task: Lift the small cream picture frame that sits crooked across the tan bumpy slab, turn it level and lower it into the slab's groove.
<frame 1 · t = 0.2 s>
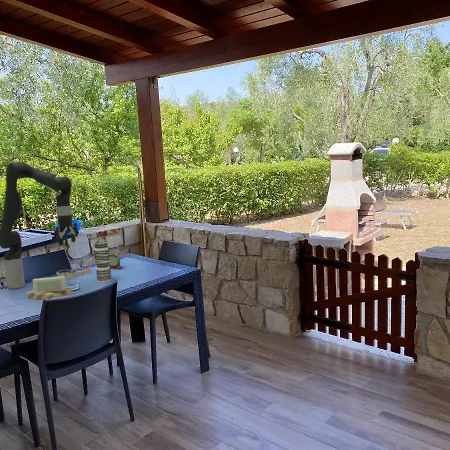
hand: (67, 243, 246), 28 cm above the table, tool pointing down, fingers open, 8 cm apart
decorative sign: (70, 275, 291), on the table
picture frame: (50, 290, 247), point 3 cm above the table, touching tan bumpy slab
tan bumpy slab: (50, 295, 248), on the table
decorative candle: (104, 280, 273), on the table
food container: (116, 268, 303), on the table
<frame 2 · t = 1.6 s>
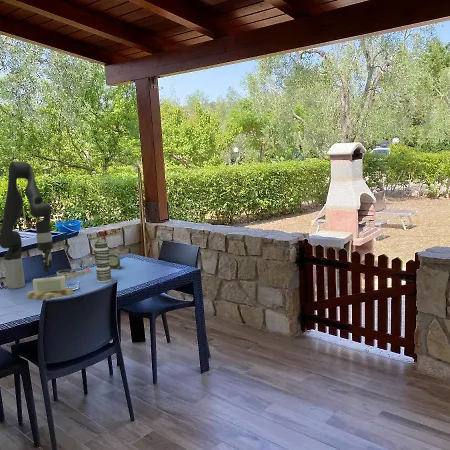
hand: (48, 269, 246), 15 cm above the table, tool pointing down, fingers open, 8 cm apart
nothing on the table moved.
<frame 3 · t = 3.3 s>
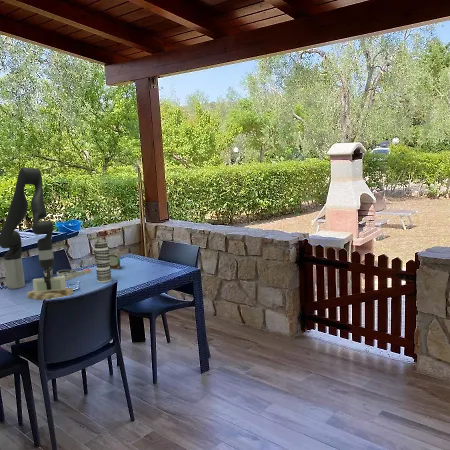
hand: (49, 288, 247), 4 cm above the table, tool pointing down, fingers closed on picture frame, 3 cm apart
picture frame: (50, 290, 247), point 3 cm above the table, touching gripper, tan bumpy slab
everything else where it was.
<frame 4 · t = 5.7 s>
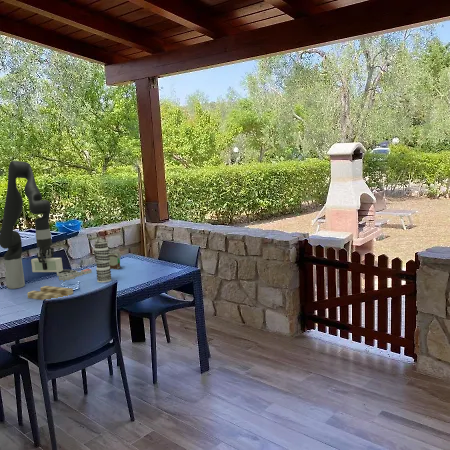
hand: (47, 268, 245), 16 cm above the table, tool pointing down, fingers closed on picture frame, 3 cm apart
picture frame: (47, 271, 245), point 14 cm above the table, touching gripper
everything else where it was.
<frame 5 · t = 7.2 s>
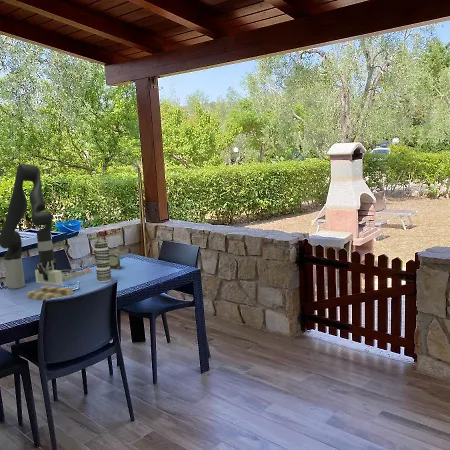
hand: (49, 279, 246), 9 cm above the table, tool pointing down, fingers closed on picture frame, 3 cm apart
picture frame: (49, 282, 247), point 7 cm above the table, touching gripper
everything else where it was.
when the fingers open (4 cm above the table, at t = 8.6 s): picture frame drops 2 cm, resting on tan bumpy slab.
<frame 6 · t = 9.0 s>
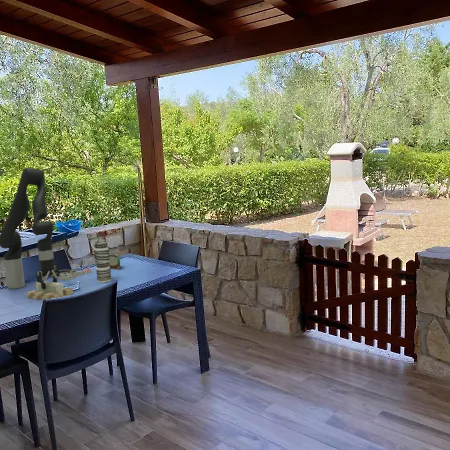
hand: (49, 287, 247), 5 cm above the table, tool pointing down, fingers open, 7 cm apart
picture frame: (50, 295, 248), resting on tan bumpy slab
everything else where it was.
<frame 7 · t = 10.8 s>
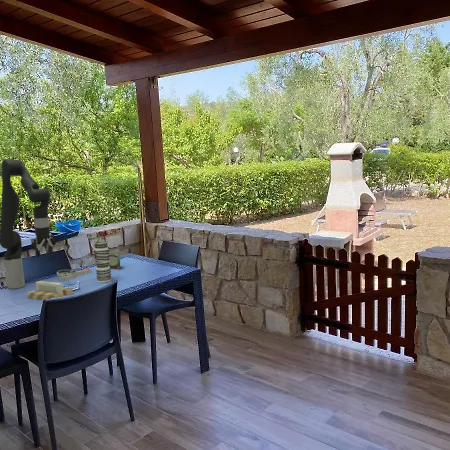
hand: (44, 255, 246), 22 cm above the table, tool pointing down, fingers open, 8 cm apart
nothing on the table moved.
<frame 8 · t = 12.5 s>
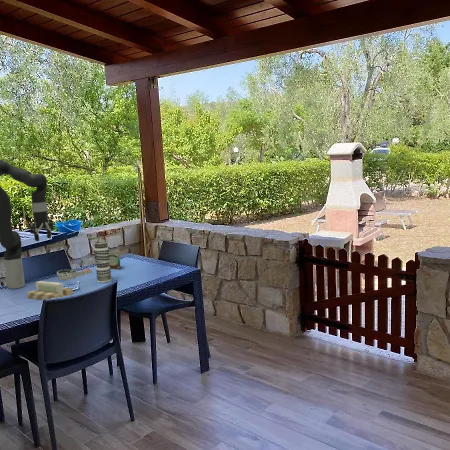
hand: (43, 239, 251), 30 cm above the table, tool pointing down, fingers open, 8 cm apart
nothing on the table moved.
at the end: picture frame 0.2 cm off-centre on the tan bumpy slab, point 0.5 cm above the tan bumpy slab's base; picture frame tilted 0°; the gripper is holding nothing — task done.
